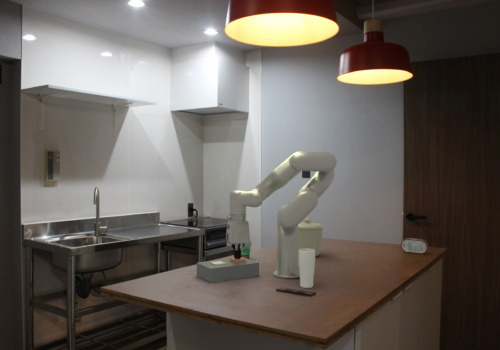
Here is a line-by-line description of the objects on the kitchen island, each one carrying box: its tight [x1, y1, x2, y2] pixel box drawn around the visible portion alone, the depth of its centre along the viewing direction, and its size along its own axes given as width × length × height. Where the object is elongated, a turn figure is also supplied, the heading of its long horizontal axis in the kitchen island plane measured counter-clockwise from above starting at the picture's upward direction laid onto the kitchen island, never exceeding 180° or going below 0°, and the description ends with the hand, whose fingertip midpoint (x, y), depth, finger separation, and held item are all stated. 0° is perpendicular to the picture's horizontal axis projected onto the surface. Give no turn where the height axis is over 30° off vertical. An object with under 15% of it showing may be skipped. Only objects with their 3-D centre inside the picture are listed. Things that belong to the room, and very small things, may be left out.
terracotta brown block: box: [229, 257, 246, 263], centre depth 201 cm, size 5×5×6 cm
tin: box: [400, 237, 430, 255], centre depth 257 cm, size 15×3×8 cm, turn 58°
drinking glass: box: [298, 249, 316, 289], centre depth 181 cm, size 7×7×15 cm
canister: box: [298, 217, 325, 257], centre depth 247 cm, size 18×18×21 cm
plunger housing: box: [196, 257, 260, 284], centre depth 199 cm, size 14×24×6 cm, turn 121°
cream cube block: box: [210, 261, 226, 266], centre depth 196 cm, size 5×5×6 cm
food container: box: [237, 240, 252, 259], centre depth 233 cm, size 12×6×10 cm, turn 143°
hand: (237, 258), depth 201 cm, fingers closed
